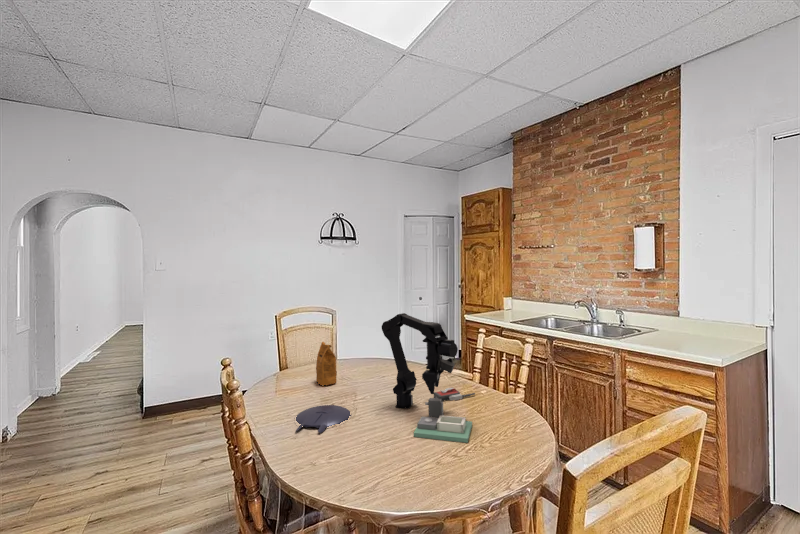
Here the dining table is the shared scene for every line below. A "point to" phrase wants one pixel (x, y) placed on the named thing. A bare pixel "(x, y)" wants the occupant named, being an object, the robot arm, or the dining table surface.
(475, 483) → the dining table surface
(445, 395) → the walkie-talkie
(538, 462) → the dining table surface
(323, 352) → the coffee package
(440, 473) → the dining table surface
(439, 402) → the plug
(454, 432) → the board
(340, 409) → the toy spaceship
